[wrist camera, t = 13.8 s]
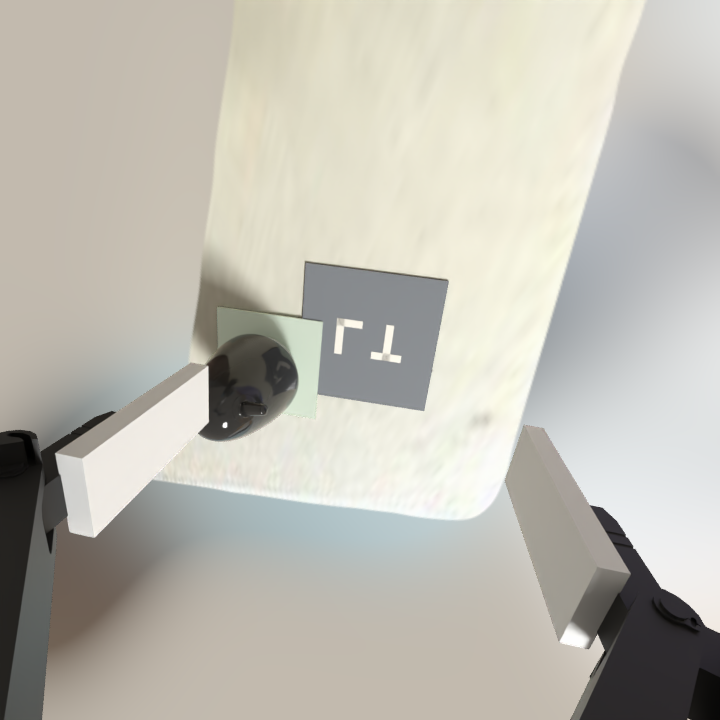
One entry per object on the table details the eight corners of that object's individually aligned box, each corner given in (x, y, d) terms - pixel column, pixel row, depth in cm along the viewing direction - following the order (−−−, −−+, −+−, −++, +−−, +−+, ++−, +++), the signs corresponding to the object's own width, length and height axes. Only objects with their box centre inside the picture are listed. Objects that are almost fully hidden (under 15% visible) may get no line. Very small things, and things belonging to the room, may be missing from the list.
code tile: (306, 262, 43) (305, 262, 43) (448, 281, 42) (448, 281, 42) (298, 390, 49) (298, 391, 49) (424, 410, 48) (424, 411, 48)
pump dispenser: (318, 394, 48) (279, 466, 34) (243, 408, 50) (178, 480, 36) (294, 317, 45) (241, 360, 31) (216, 334, 47) (132, 383, 33)
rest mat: (218, 306, 47) (216, 307, 46) (323, 321, 46) (322, 322, 45) (220, 402, 51) (218, 403, 51) (315, 417, 50) (315, 419, 50)
